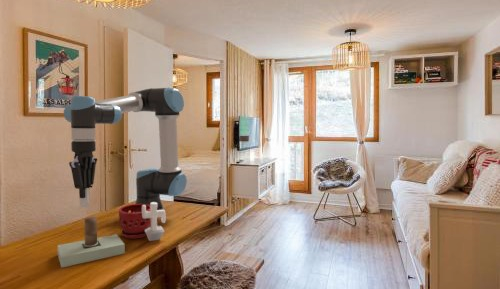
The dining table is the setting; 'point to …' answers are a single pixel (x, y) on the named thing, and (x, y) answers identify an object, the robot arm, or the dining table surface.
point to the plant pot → (133, 221)
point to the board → (90, 250)
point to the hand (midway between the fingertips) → (84, 206)
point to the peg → (90, 232)
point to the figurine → (154, 221)
